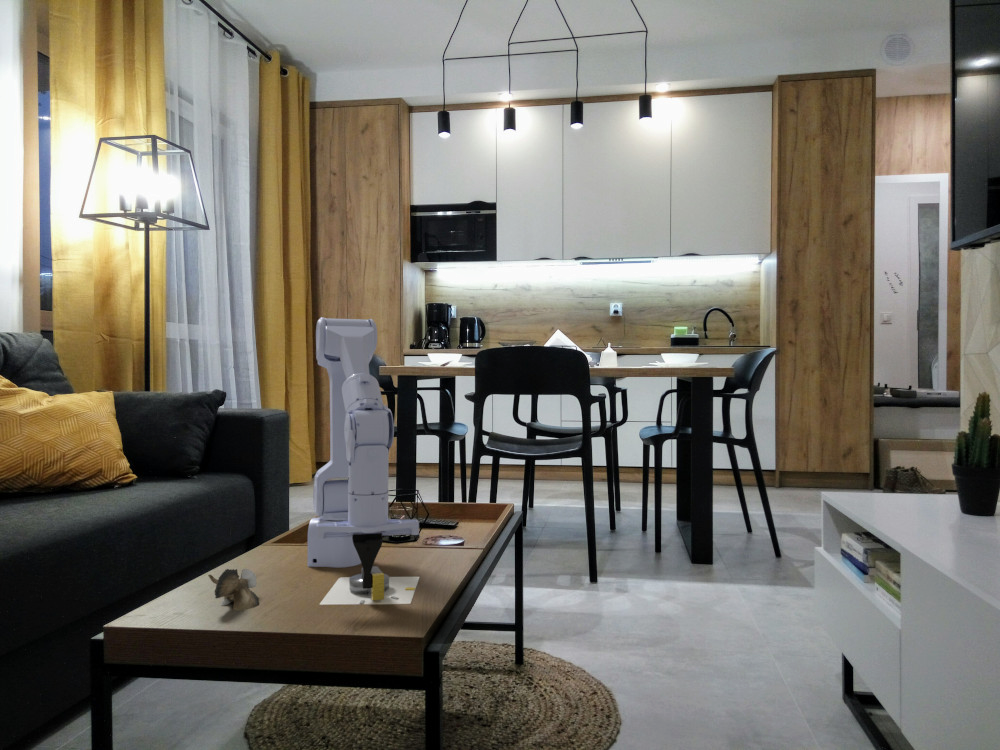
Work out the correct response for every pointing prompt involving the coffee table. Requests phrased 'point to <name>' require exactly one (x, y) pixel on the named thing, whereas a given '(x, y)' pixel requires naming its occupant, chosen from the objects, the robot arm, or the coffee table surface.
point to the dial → (377, 586)
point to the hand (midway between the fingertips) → (367, 586)
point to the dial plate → (395, 594)
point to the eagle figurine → (236, 589)
